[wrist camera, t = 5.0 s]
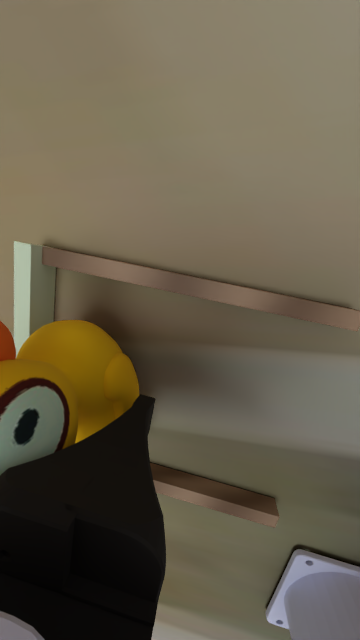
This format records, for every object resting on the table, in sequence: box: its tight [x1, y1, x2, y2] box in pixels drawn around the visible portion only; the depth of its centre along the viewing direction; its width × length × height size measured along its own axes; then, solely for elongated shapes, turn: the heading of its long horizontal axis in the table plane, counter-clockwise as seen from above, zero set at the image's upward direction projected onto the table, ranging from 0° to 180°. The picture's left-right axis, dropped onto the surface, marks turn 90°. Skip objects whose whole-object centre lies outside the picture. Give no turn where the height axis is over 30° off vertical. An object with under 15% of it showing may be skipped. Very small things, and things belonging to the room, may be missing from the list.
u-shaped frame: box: [14, 241, 360, 528], centre depth 13 cm, size 18×15×2 cm
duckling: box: [0, 320, 139, 475], centre depth 10 cm, size 11×5×10 cm, turn 12°
